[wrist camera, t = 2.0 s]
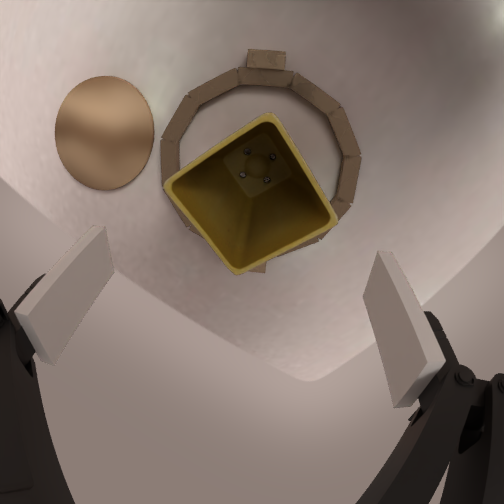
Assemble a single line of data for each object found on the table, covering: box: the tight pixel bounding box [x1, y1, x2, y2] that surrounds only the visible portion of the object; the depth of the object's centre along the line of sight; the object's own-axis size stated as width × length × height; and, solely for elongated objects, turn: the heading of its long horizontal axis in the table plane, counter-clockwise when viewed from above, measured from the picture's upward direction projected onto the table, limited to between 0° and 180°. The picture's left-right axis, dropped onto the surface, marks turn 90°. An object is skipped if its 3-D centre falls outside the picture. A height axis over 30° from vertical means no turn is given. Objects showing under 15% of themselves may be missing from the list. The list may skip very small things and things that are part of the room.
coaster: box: [55, 76, 154, 190], centre depth 26 cm, size 12×12×1 cm
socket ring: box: [160, 49, 362, 273], centre depth 26 cm, size 21×18×2 cm
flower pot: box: [163, 113, 338, 275], centre depth 23 cm, size 9×9×9 cm
